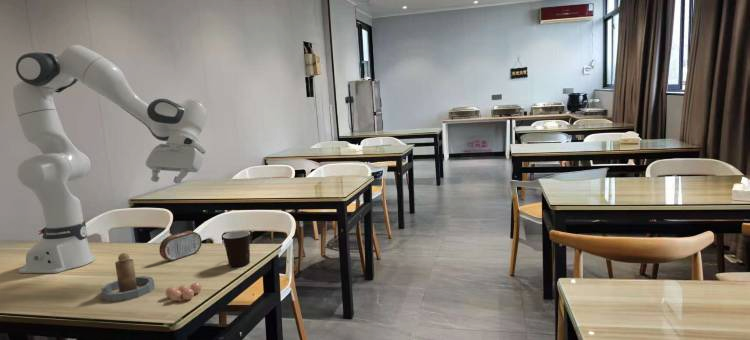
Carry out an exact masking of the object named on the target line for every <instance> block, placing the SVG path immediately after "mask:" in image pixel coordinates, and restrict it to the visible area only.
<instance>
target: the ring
mask: <svg viewBox="0 0 750 340" xmlns="http://www.w3.org/2000/svg"><path fill="white" fill-rule="evenodd" d="M135 277H136V284H137V285H143V286H140V287H137V289H135V290H130V291H126V292H119V291H118V292H112V291H115V290H117V289H118V290H119V286H118V279H117V280H114V281H112V282H109V283H107V284H106V285H104V286H103V287H101V297H102V300H103V301H107V302H121V301H122V302H123V301H127V300H131V299H136V298H140V297H142V296H144V295H146V294H149V293H151V292H152V291H153V289H155V281H154V279H153V277H152V276H148V275H147V276H145V275H139V276H135Z"/></svg>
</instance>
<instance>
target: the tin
mask: <svg viewBox="0 0 750 340" xmlns="http://www.w3.org/2000/svg"><path fill="white" fill-rule="evenodd" d="M201 247H202V237H201V235H200V234H199V233H198V232H195V231H193V230H187V231H183V232H180V233H176V234H172V235H169V236H166V237H165V238H164V239H163V240H162V241H161V242H160V245H159V254H160V256H161V258H162V259H164V260H166V261H167V260H168V261H177V260H179V259H183V258H186V257H189V256H192V255H195V254H196V253H198V252H199V250H200V249H201Z"/></svg>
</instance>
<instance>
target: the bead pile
mask: <svg viewBox="0 0 750 340" xmlns="http://www.w3.org/2000/svg"><path fill="white" fill-rule="evenodd" d="M201 290H202V285H201V284H200V283H199V282H193V283H192V284H190V287H189V286H188V285H186V284H182V285H180V286H179V287H178V288H176V287H175V286H169V287H167V288H166V289H165V296H166V297H167V298H169V299H170V300H171V301H173V302H178V301H180V300H182V298H183V299H184V300H185V301H186V300H187V301H189V300H191V299H193V298H194V296H195V294H196V295H197V294H199V293H200V292H201Z"/></svg>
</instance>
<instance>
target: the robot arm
mask: <svg viewBox="0 0 750 340" xmlns="http://www.w3.org/2000/svg"><path fill="white" fill-rule="evenodd" d="M15 73H16V74H17V76H18V77H19V79H20V80H21V81H20V82H18V83H16V84H15V85H14V86H13V88H12V94H13V102H14V107H15V111H16V115H17V119H18V121H19V123H20V126H21V129H22V132H23V135H24V139H26V141H28V142H29V143H31V144H33V145H34V146H36V147H37V148H38V149H39V150H40V151H41V154H39V155H38V154H37V155H34V156H32V157H29V158H27V159H24V160H23V161H21V163H20V164H18V167H17V173H16V174H17V179H18V180H19V182H20V184H22V186H24V187H25V188H28V189H29V190H30V191H32V192H33V194H35V196H36V197H37V199H38V201H39V202H40V206H41V208H42V212H43V218H44V222H45V227H43V228H42V229H41V230H38V235H42V236H41V237H42V238H41V239H40V240H39V241H37V242H36V244H34V245H33V246H32V247H31V248H30V249H29V250H28V251H27V253H26V256H25V264H24V265H22V266H21V267H19V269H18V273H19V274H56V273H60V272H64V271H67V270H72V269H75V268H79V267H82V266H86V265H88V264H90V263H92V262H94V261H95V256H94V254H93V252H92V249H91V247H90V244H89V242H88V241H89V240H88V238H87V237H88V231H87V224H86V221H85V220H84V215H83V210H82V209H83V208H82V202H81V200H80V199H79V198H78V197H77V196H76V195H73V194H72V193H71V192H70V189H69V188H68V184H67V183H73V182H76V181H79V180H81V179H82V178H84V177H85V176H88V174H89V173H90V171H91V168H92V167H91V166H92V163H91V160H90V158H89V156H87V154H85V152H82V151H80V150H79V149H78V148H77V147H76V146H75V145H74V144H73V142H72V141H71V140H70V139H69V137H68V135H67V134H66V132H65V130H64V127H63V124H62V122H61V120H60V116H59V114H58V110H57V108H56V105H55V102H54V97H53V96H54V94H55V93H58V94H59V93H61V92H63V91H64V90H66V89H67V88H71V87H72V86H74V85H75V84H76V83H77V82H80V83H82V84H83V85H85V86H86V87H88V88H89V89H91V90H92V91H94V92H96V93H97V94H99V95H101V96H102V97H105V98H106V99H108V100H109V101H111V102H112V103H113V104H115V105H116V106H117V105H118V107H120V108H121V109H122V110H124V111H126V113H128V114H130V116H132V117H134V118H135V119H137V120H138V121H139V122H141V124H143V125H144V126H146V127H147V129H148V130H149V132H150V134H151V135H152V136H153V137H154V138H155V139H157V140H159V141H163V142H166V143H160V144H159V145H157V146H155V147H154V148H153V149H152V150H151V152H150V153H149V155H148V157H147V158H146V160H145V166H146V167H147V168H149V169H150V170H151V174H152V176H151V177H150V180H151V181H152V182H155V183H157V182H159V180H160V177H159V173H160V172H161V171H165V172H166V171H168V172H179V173H178V174H177V176H174V178H173V183H175V184H181V183H182V181H183V179H184V178H186V176H187V175H188V173H197V172H198V171H200V169H201V167H202V164H203V161H204V159H205V158H204V157H205V154H206V152H207V149H206V147H205V146H203V145H202V144H201V143H200V142H198V141H199V135H200V134H201V132H203V129H204V126H205V123H206V120H207V116H208V111H207V110H206V107H205V106H204V105H203V104H202V103H201V102H199V101H198V100H196V99H191V98H190V99H189V98H188V99H184V100H169V99H167V98H158V99H157V98H156V99H154V100H153V101H151V102H150V103H149V104H148V103H146V102H145V101H144V100H142V99H141V98H140V97H139V96H138V95H137V94H136V93H135V92H134V90H133V89H132V88H131V86H130V83H129V82H128V81H127V78H126V77H125V74H124V73H123V71H122V70H121V69H120V68H119V67H118V66H117V65H116V64H115V63H113V62H112V61H111V60H109V59H108V58H107V57H105V56H103V55H101V54H99V53H98V52H96V51H95V50H92V49H90V48H87V47H85V46H84V45H80V44H71V45H69V46H67V47H65V49H64V50H63V51H62V52H61V54H59V55H58V54H57V55H56V54H53V53H49V52H29V53H25V54H22V55H21V56H20V57H19V58H18V59H17V61H16V63H15Z"/></svg>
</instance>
